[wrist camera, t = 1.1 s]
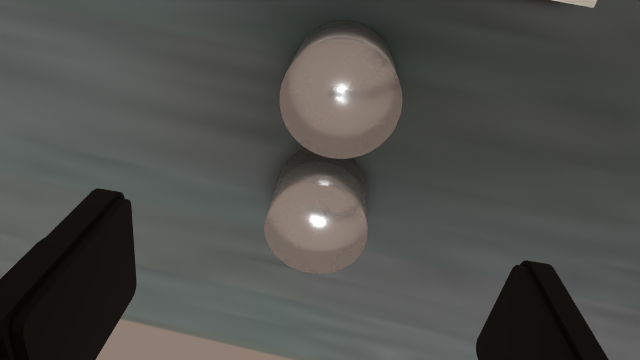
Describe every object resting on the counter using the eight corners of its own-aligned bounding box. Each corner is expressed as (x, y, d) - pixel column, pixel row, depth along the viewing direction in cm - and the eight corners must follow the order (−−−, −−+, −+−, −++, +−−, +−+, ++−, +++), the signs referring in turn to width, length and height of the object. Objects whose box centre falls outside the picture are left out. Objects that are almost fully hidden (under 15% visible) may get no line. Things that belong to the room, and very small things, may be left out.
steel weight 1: (405, 30, 25) (416, 53, 20) (381, 127, 28) (386, 167, 23) (300, 11, 25) (286, 30, 20) (287, 110, 28) (273, 148, 23)
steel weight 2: (374, 155, 29) (377, 199, 24) (356, 228, 32) (356, 280, 27) (284, 139, 29) (269, 180, 24) (274, 214, 32) (259, 264, 27)
